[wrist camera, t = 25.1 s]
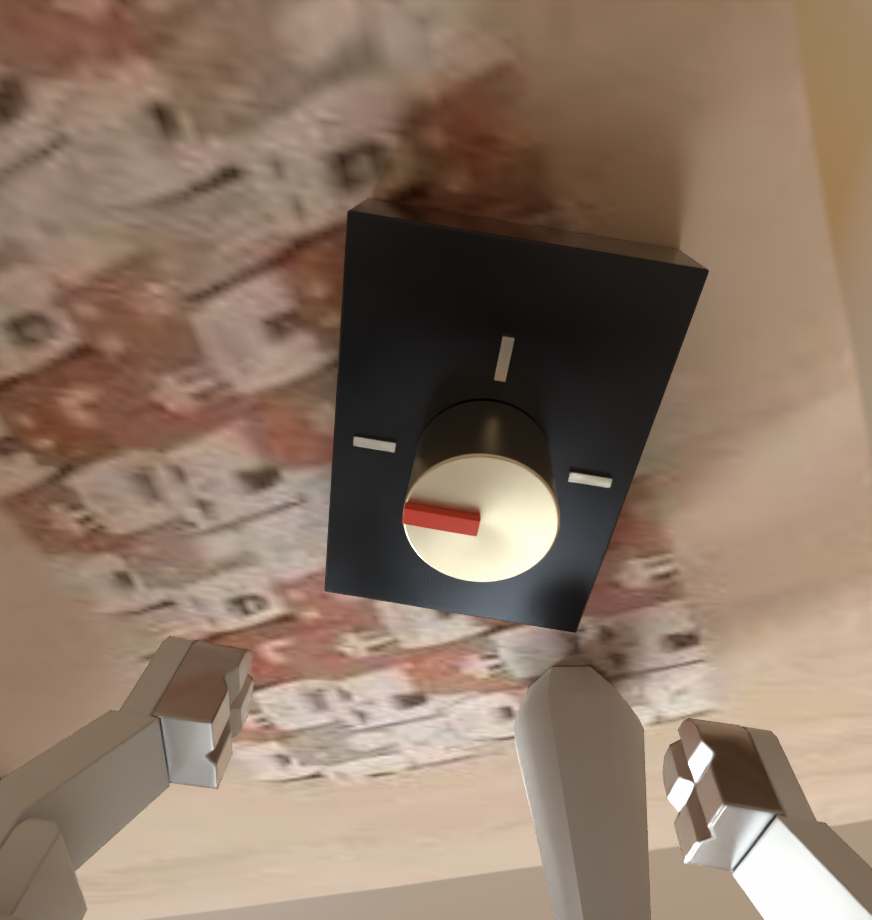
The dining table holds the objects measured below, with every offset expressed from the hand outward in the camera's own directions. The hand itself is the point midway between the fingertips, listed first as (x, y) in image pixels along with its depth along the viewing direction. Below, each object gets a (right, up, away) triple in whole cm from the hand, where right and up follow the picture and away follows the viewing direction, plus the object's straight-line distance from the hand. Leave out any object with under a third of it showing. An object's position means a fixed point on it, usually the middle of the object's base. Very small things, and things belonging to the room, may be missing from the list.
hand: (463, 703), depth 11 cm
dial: (+1, +5, +8) cm, 10 cm away
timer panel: (+1, +6, +11) cm, 13 cm away
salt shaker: (+6, -7, +18) cm, 20 cm away
